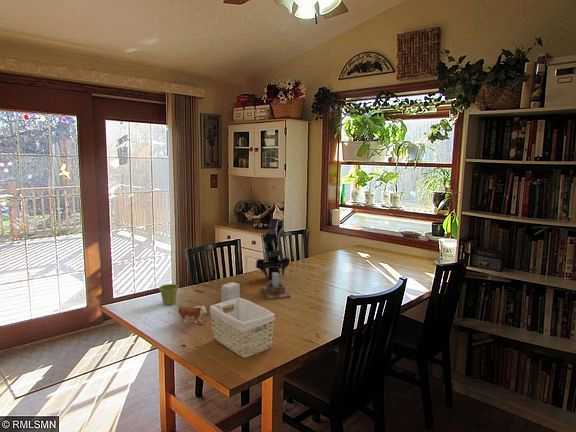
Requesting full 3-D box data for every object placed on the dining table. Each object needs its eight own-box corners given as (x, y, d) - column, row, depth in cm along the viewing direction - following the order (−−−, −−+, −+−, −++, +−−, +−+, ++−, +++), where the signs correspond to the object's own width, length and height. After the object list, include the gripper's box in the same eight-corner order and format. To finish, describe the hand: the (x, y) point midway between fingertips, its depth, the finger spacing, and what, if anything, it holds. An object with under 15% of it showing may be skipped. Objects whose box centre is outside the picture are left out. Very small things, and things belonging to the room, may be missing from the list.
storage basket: (276, 348, 157) (276, 312, 155) (242, 362, 146) (242, 323, 144) (241, 329, 175) (241, 296, 173) (208, 339, 164) (207, 305, 162)
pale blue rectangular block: (273, 292, 219) (273, 274, 218) (271, 289, 224) (272, 272, 222) (279, 292, 220) (279, 274, 218) (277, 289, 224) (277, 272, 223)
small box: (232, 301, 208) (231, 281, 207) (240, 303, 205) (240, 283, 204) (221, 305, 202) (220, 285, 200) (229, 308, 199) (229, 287, 197)
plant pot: (171, 307, 198) (170, 290, 197) (155, 305, 201) (155, 288, 200) (182, 301, 207) (182, 285, 205) (167, 299, 210) (166, 283, 209)
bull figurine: (205, 325, 178) (205, 307, 177) (177, 323, 180) (176, 305, 179) (209, 321, 182) (209, 304, 181) (181, 319, 184) (181, 302, 183)
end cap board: (268, 299, 212) (268, 290, 211) (261, 288, 229) (261, 280, 228) (290, 297, 215) (290, 289, 214) (282, 287, 232) (282, 279, 231)
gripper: (256, 245, 223) (260, 270, 214) (289, 243, 227) (294, 268, 219) (254, 255, 231) (257, 280, 223) (285, 254, 236) (290, 277, 227)
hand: (275, 276), depth 222 cm, fingers open, 9 cm apart
